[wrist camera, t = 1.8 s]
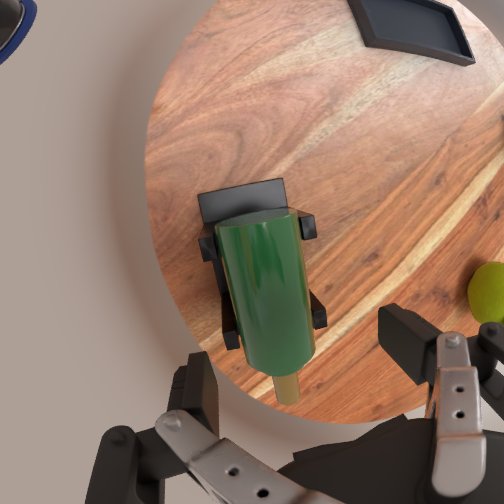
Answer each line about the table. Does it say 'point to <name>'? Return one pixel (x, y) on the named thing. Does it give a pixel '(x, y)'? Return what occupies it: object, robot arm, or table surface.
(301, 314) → the green bottle
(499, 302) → the fruit
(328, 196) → the table surface
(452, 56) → the tray
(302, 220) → the rack
